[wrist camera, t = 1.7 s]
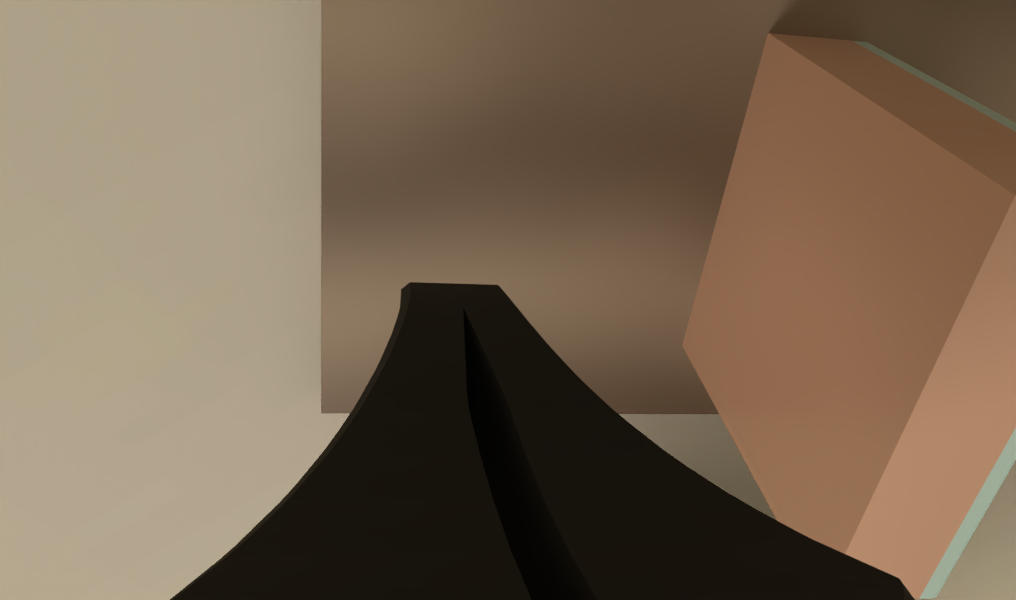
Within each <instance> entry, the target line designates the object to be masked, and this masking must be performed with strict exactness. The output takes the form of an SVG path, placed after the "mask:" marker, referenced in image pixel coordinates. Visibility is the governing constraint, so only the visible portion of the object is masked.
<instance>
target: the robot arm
mask: <svg viewBox="0 0 1016 600" xmlns="http://www.w3.org/2000/svg"><path fill="white" fill-rule="evenodd" d="M170 600H915V599H914V598H913V596H912V595H911V594H910V592H909V591H908V590H907V588H906V587H905V586H904V584H903V583H902V582H901V580H900V578H897V577H895V576H893V575H891V574H888V573H886V572H884V571H882V570H880V569H877V568H875V567H873V566H871V565H868V564H866V563H864V562H862V561H860V560H857V559H855V558H853V557H851V556H848V555H846V554H844V553H842V552H840V551H837V550H835V549H833V548H831V547H828V546H826V545H824V544H822V543H820V542H817V541H815V540H813V539H811V538H809V537H807V536H805V535H803V534H801V533H799V532H797V531H795V530H794V529H792V528H790V527H788V526H786V525H784V524H782V523H780V522H779V521H777V520H775V519H773V518H771V517H769V516H767V515H765V514H764V513H762V512H760V511H758V510H756V509H754V508H753V507H751V506H749V505H748V504H746V503H744V502H742V501H741V500H739V499H737V498H736V497H734V496H732V495H730V494H729V493H727V492H725V491H724V490H722V489H721V488H719V487H718V486H716V485H715V484H713V483H711V482H710V481H708V480H707V479H705V478H704V477H702V476H701V475H699V474H698V473H696V472H695V471H693V470H691V469H690V468H688V467H687V466H685V465H684V464H682V463H681V462H680V461H678V460H677V459H675V458H674V457H673V456H671V455H670V454H668V453H667V452H666V451H664V450H663V449H661V448H660V447H659V446H658V445H656V444H655V443H654V442H652V441H651V440H650V439H649V438H647V437H646V436H645V435H644V434H642V433H641V432H640V431H638V430H637V429H636V428H635V427H633V426H632V425H631V424H630V423H628V422H627V421H626V420H625V419H624V418H622V417H621V416H620V415H619V414H618V413H617V412H615V411H614V410H613V409H612V408H611V407H610V406H609V405H608V404H606V403H605V402H604V401H603V400H602V399H601V398H600V397H599V396H598V395H597V394H596V393H595V392H594V391H593V390H592V389H590V388H589V387H588V386H587V385H586V384H585V383H584V382H583V381H582V380H581V379H580V378H579V377H578V376H577V375H576V374H575V373H574V372H573V371H572V370H571V369H570V368H569V366H568V365H567V364H566V363H565V362H564V361H563V360H562V359H561V358H560V357H559V356H558V355H557V354H556V352H555V351H554V350H553V349H552V348H551V347H550V346H549V345H548V344H547V342H546V341H545V340H544V339H543V338H542V337H541V335H540V334H539V333H538V332H537V331H536V330H535V328H534V327H533V326H532V325H531V324H530V322H529V321H528V320H527V319H526V318H525V316H524V315H523V314H522V313H521V311H520V310H519V309H518V308H517V307H516V305H515V304H514V303H513V302H512V300H511V299H510V298H509V297H508V296H507V294H506V293H505V292H504V291H503V290H502V289H501V287H500V286H499V285H489V284H454V283H420V282H410V283H408V284H407V285H406V286H405V287H403V288H402V289H401V298H400V309H399V313H398V317H397V320H396V323H395V326H394V329H393V332H392V334H391V337H390V339H389V341H388V343H387V346H386V348H385V350H384V353H383V355H382V357H381V359H380V362H379V364H378V366H377V368H376V370H375V372H374V373H373V375H372V377H371V379H370V381H369V382H368V384H367V386H366V388H365V389H364V391H363V393H362V395H361V397H360V398H359V400H358V402H357V404H356V405H355V407H354V408H353V410H352V412H351V413H350V415H349V416H348V418H347V419H346V421H345V422H344V424H343V425H342V427H341V428H340V430H339V431H338V432H337V434H336V435H335V437H334V438H333V439H332V441H331V442H330V443H329V445H328V446H327V447H326V449H325V450H324V451H323V453H322V454H321V455H320V456H319V458H318V459H317V460H316V461H315V462H314V464H313V465H312V466H311V467H310V469H309V470H308V471H307V472H306V473H305V475H304V476H303V477H302V478H301V479H300V481H299V482H298V483H297V484H296V485H295V486H294V487H293V489H292V490H291V491H290V492H289V493H288V494H287V495H286V496H285V497H284V498H283V500H282V501H281V502H280V503H279V504H278V505H277V506H276V507H275V508H274V509H273V510H272V511H271V512H270V513H269V514H268V515H266V516H265V517H264V518H263V519H262V520H261V521H260V522H259V523H258V524H257V525H256V526H255V527H254V528H253V529H252V530H251V531H250V532H249V533H248V534H247V535H246V536H245V537H244V538H243V539H242V540H241V541H240V542H239V543H238V544H237V545H236V546H235V547H233V548H232V549H231V550H230V551H229V552H228V553H227V554H226V555H224V556H223V557H222V558H221V559H220V560H219V561H217V562H216V563H215V564H214V565H212V566H211V567H210V568H209V569H207V570H206V571H205V572H204V573H203V574H201V575H200V576H199V577H198V578H196V579H195V580H194V581H193V582H191V583H190V584H189V585H188V586H186V587H185V588H184V589H183V590H181V591H180V592H179V593H178V594H176V595H175V596H174V597H173V598H171V599H170Z"/></svg>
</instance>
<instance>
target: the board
mask: <svg viewBox="0 0 1016 600" xmlns="http://www.w3.org/2000/svg"><path fill="white" fill-rule="evenodd" d="M768 33H773V34H784V35H795V36H806V37H817V38H829V39H840V40H851V41H862V42H868V43H870V44H872V45H873V46H875V47H877V48H879V49H881V50H883V51H884V52H886V53H888V54H890V55H892V56H894V57H895V58H897V59H899V60H901V61H903V62H905V63H907V64H908V65H910V66H912V67H914V68H916V69H918V70H919V71H921V72H923V73H925V74H927V75H929V76H930V77H932V78H934V79H936V80H938V81H940V82H941V83H943V84H945V85H947V86H949V87H951V88H953V89H954V90H956V91H958V92H960V93H962V94H964V95H965V96H967V97H969V98H971V99H973V100H975V101H976V102H978V103H980V104H982V105H984V106H986V107H988V108H989V109H991V110H993V111H995V112H997V113H999V114H1000V115H1002V116H1004V117H1006V118H1008V119H1010V120H1011V121H1013V122H1015V123H1016V0H322V256H321V413H351V412H352V410H353V408H354V407H355V405H356V404H357V402H358V400H359V398H360V397H361V395H362V393H363V391H364V389H365V388H366V386H367V384H368V382H369V381H370V379H371V377H372V375H373V373H374V372H375V370H376V368H377V366H378V364H379V362H380V359H381V357H382V355H383V353H384V350H385V348H386V346H387V343H388V341H389V339H390V337H391V334H392V332H393V329H394V326H395V323H396V320H397V317H398V313H399V309H400V298H401V289H402V288H403V287H405V286H406V285H407V284H408V283H410V282H420V283H454V284H489V285H499V286H500V287H501V289H502V290H503V291H504V292H505V293H506V294H507V296H508V297H509V298H510V299H511V300H512V302H513V303H514V304H515V305H516V307H517V308H518V309H519V310H520V311H521V313H522V314H523V315H524V316H525V318H526V319H527V320H528V321H529V322H530V324H531V325H532V326H533V327H534V328H535V330H536V331H537V332H538V333H539V334H540V335H541V337H542V338H543V339H544V340H545V341H546V342H547V344H548V345H549V346H550V347H551V348H552V349H553V350H554V351H555V352H556V354H557V355H558V356H559V357H560V358H561V359H562V360H563V361H564V362H565V363H566V364H567V365H568V366H569V368H570V369H571V370H572V371H573V372H574V373H575V374H576V375H577V376H578V377H579V378H580V379H581V380H582V381H583V382H584V383H585V384H586V385H587V386H588V387H589V388H590V389H592V390H593V391H594V392H595V393H596V394H597V395H598V396H599V397H600V398H601V399H602V400H603V401H604V402H605V403H606V404H608V405H609V406H610V407H611V408H612V409H613V410H614V411H615V412H617V413H618V414H719V413H718V411H717V409H716V407H715V405H714V403H713V402H712V400H711V398H710V396H709V394H708V392H707V391H706V389H705V387H704V385H703V383H702V381H701V379H700V378H699V376H698V374H697V372H696V370H695V368H694V367H693V365H692V363H691V361H690V359H689V357H688V356H687V354H686V352H685V350H684V348H683V346H682V344H683V340H684V337H685V333H686V329H687V326H688V322H689V318H690V315H691V311H692V308H693V304H694V300H695V297H696V293H697V289H698V286H699V282H700V278H701V275H702V271H703V268H704V264H705V260H706V257H707V253H708V249H709V246H710V242H711V238H712V235H713V231H714V228H715V224H716V220H717V217H718V213H719V209H720V206H721V202H722V198H723V195H724V191H725V188H726V184H727V180H728V177H729V173H730V169H731V166H732V162H733V158H734V155H735V151H736V148H737V144H738V140H739V137H740V133H741V129H742V126H743V122H744V118H745V115H746V111H747V108H748V104H749V100H750V97H751V93H752V89H753V86H754V82H755V78H756V75H757V71H758V68H759V64H760V60H761V57H762V53H763V49H764V46H765V42H766V38H767V35H768Z"/></svg>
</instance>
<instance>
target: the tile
mask: <svg viewBox="0 0 1016 600" xmlns="http://www.w3.org/2000/svg"><path fill="white" fill-rule="evenodd" d="M682 346H683V348H684V350H685V352H686V354H687V356H688V357H689V359H690V361H691V363H692V365H693V367H694V368H695V370H696V372H697V374H698V376H699V378H700V379H701V381H702V383H703V385H704V387H705V389H706V391H707V392H708V394H709V396H710V398H711V400H712V402H713V403H714V405H715V407H716V409H717V411H718V413H719V414H720V416H721V418H722V420H723V422H724V424H725V426H726V427H727V429H728V431H729V433H730V435H731V437H732V438H733V440H734V442H735V444H736V446H737V448H738V449H739V451H740V453H741V455H742V457H743V459H744V461H745V462H746V464H747V466H748V468H749V470H750V472H751V473H752V475H753V477H754V479H755V481H756V483H757V484H758V486H759V488H760V490H761V492H762V494H763V496H764V497H765V499H766V501H767V503H768V505H769V507H770V508H771V510H772V512H773V514H774V516H775V518H776V520H777V521H779V522H780V523H782V524H784V525H786V526H788V527H790V528H792V529H794V530H795V531H797V532H799V533H801V534H803V535H805V536H807V537H809V538H811V539H813V540H815V541H817V542H820V543H822V544H824V545H826V546H828V547H831V548H833V549H835V550H837V551H840V552H842V553H844V554H846V555H848V556H851V557H853V558H855V559H857V560H860V561H862V562H864V563H866V564H868V565H871V566H873V567H875V568H877V569H880V570H882V571H884V572H886V573H888V574H891V575H893V576H895V577H897V578H900V580H901V582H902V583H903V584H904V586H905V587H906V588H907V590H908V591H909V592H910V594H911V595H912V596H913V598H914V599H929V598H936V597H937V595H938V593H939V592H940V590H941V588H942V586H943V585H944V583H945V581H946V580H947V578H948V576H949V574H950V573H951V571H952V569H953V567H954V566H955V564H956V562H957V561H958V559H959V557H960V555H961V554H962V552H963V550H964V549H965V547H966V545H967V543H968V542H969V540H970V538H971V536H972V535H973V533H974V531H975V530H976V528H977V526H978V524H979V523H980V521H981V519H982V517H983V516H984V514H985V512H986V511H987V509H988V507H989V505H990V504H991V502H992V500H993V498H994V497H995V495H996V493H997V492H998V490H999V488H1000V486H1001V485H1002V483H1003V481H1004V480H1005V478H1006V476H1007V474H1008V473H1009V471H1010V469H1011V467H1012V466H1013V464H1014V462H1015V461H1016V123H1015V122H1013V121H1011V120H1010V119H1008V118H1006V117H1004V116H1002V115H1000V114H999V113H997V112H995V111H993V110H991V109H989V108H988V107H986V106H984V105H982V104H980V103H978V102H976V101H975V100H973V99H971V98H969V97H967V96H965V95H964V94H962V93H960V92H958V91H956V90H954V89H953V88H951V87H949V86H947V85H945V84H943V83H941V82H940V81H938V80H936V79H934V78H932V77H930V76H929V75H927V74H925V73H923V72H921V71H919V70H918V69H916V68H914V67H912V66H910V65H908V64H907V63H905V62H903V61H901V60H899V59H897V58H895V57H894V56H892V55H890V54H888V53H886V52H884V51H883V50H881V49H879V48H877V47H875V46H873V45H872V44H870V43H868V42H862V41H851V40H840V39H829V38H817V37H806V36H795V35H784V34H773V33H768V35H767V38H766V42H765V46H764V49H763V53H762V57H761V60H760V64H759V68H758V71H757V75H756V78H755V82H754V86H753V89H752V93H751V97H750V100H749V104H748V108H747V111H746V115H745V118H744V122H743V126H742V129H741V133H740V137H739V140H738V144H737V148H736V151H735V155H734V158H733V162H732V166H731V169H730V173H729V177H728V180H727V184H726V188H725V191H724V195H723V198H722V202H721V206H720V209H719V213H718V217H717V220H716V224H715V228H714V231H713V235H712V238H711V242H710V246H709V249H708V253H707V257H706V260H705V264H704V268H703V271H702V275H701V278H700V282H699V286H698V289H697V293H696V297H695V300H694V304H693V308H692V311H691V315H690V318H689V322H688V326H687V329H686V333H685V337H684V340H683V344H682Z"/></svg>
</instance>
